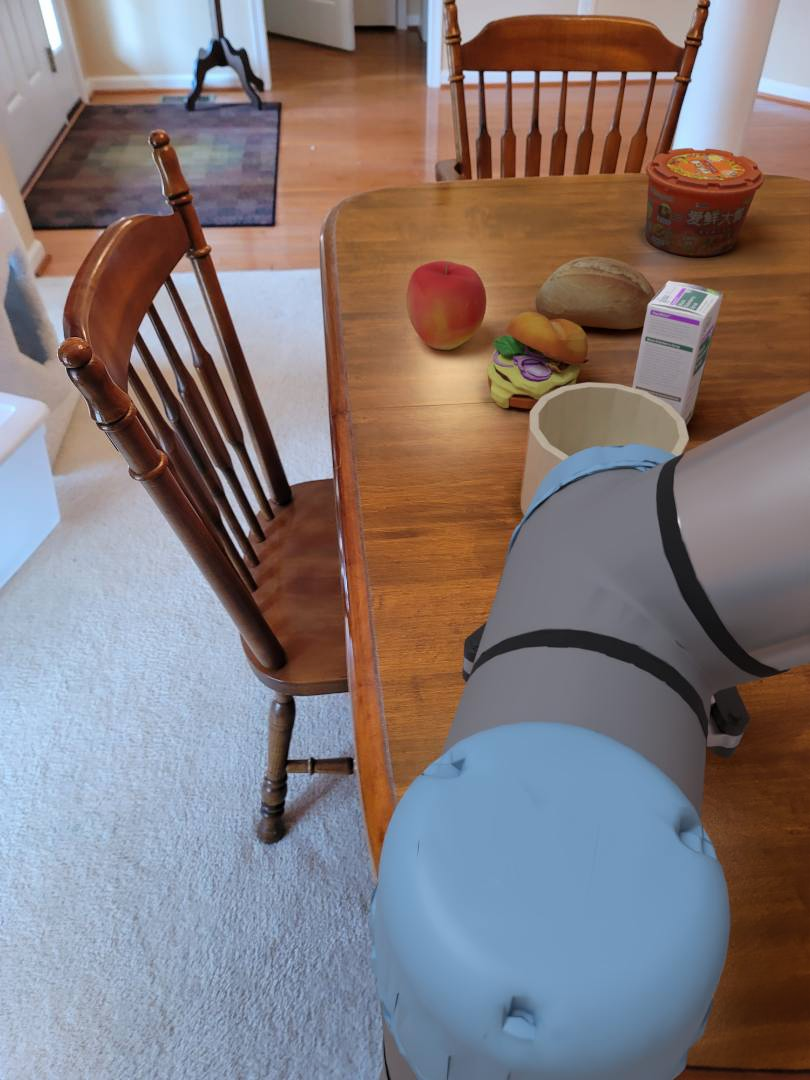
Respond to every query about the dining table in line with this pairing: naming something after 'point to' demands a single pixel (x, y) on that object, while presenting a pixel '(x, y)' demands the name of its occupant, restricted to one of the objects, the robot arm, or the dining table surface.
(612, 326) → the bread roll
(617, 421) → the pot
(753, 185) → the food container
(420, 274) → the apple
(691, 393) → the syrup box
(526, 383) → the cheeseburger
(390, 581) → the dining table surface
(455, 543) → the dining table surface
